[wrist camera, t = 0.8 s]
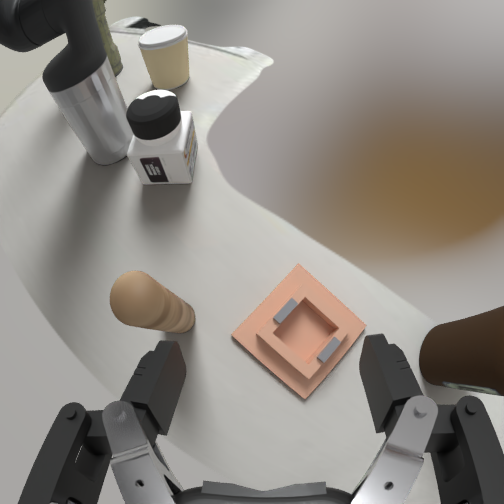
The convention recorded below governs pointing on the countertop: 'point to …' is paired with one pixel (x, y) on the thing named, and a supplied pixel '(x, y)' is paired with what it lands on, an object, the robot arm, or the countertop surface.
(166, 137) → the container
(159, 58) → the coffee cup
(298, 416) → the countertop surface
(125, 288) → the tall wooden cylinder
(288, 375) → the clip base
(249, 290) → the countertop surface
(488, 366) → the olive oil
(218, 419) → the countertop surface
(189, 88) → the countertop surface
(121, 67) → the thermos
